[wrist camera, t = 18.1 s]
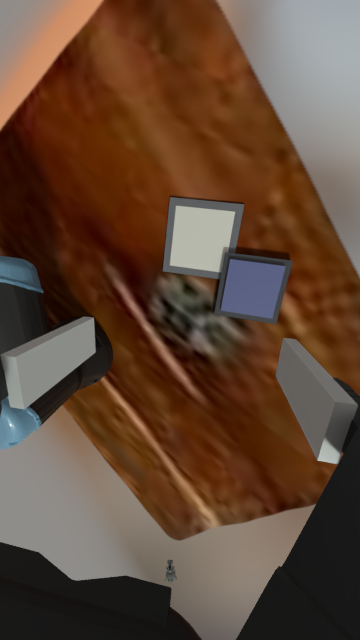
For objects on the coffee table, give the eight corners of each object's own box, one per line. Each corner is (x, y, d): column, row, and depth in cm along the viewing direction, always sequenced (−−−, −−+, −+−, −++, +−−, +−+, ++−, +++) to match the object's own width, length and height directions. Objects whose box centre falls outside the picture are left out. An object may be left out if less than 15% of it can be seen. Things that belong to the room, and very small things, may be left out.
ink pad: (214, 312, 42) (214, 314, 41) (225, 252, 39) (225, 252, 37) (274, 322, 41) (276, 325, 39) (290, 260, 38) (293, 260, 36)
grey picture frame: (163, 270, 42) (162, 271, 41) (170, 197, 38) (169, 197, 38) (229, 280, 40) (229, 280, 40) (244, 204, 36) (244, 204, 36)
